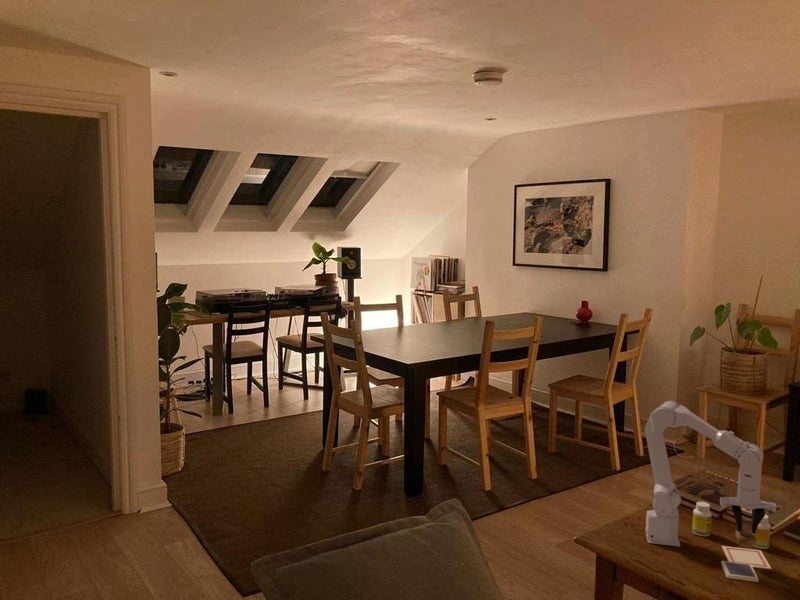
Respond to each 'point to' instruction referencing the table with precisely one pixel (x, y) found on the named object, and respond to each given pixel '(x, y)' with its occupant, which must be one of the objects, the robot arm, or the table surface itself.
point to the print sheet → (746, 557)
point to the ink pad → (739, 571)
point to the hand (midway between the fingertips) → (745, 531)
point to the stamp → (746, 533)
